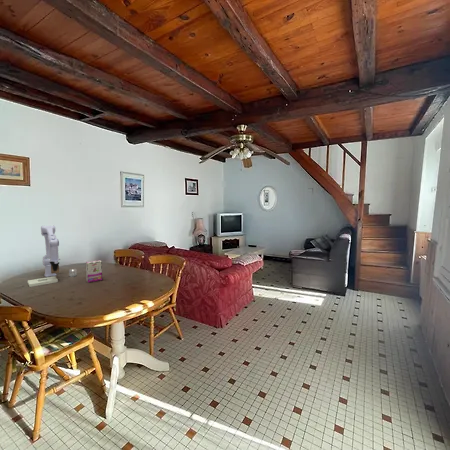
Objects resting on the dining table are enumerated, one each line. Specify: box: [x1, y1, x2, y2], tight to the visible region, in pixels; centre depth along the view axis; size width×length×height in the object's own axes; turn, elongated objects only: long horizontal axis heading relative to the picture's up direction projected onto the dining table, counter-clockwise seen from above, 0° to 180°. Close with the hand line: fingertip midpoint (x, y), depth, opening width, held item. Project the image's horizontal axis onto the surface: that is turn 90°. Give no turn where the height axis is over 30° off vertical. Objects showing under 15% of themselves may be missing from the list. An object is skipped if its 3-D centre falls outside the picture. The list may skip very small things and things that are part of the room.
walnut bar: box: [51, 264, 60, 274], centre depth 198 cm, size 3×5×6 cm, turn 135°
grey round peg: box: [68, 268, 78, 278], centre depth 212 cm, size 6×6×6 cm
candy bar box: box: [85, 259, 103, 283], centre depth 201 cm, size 11×5×16 cm, turn 129°
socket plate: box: [27, 275, 59, 288], centre depth 194 cm, size 12×18×2 cm, turn 135°
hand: (54, 270), depth 197 cm, fingers closed on walnut bar, 3 cm apart
